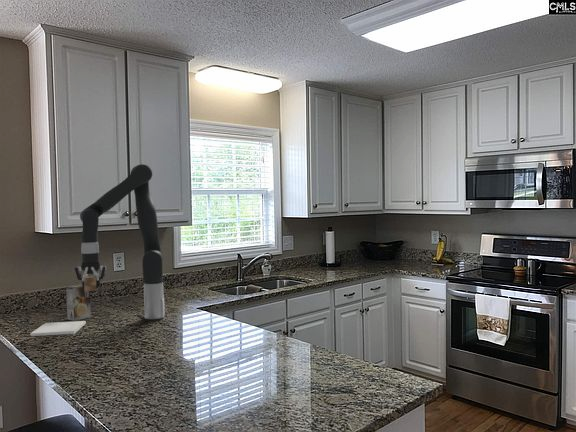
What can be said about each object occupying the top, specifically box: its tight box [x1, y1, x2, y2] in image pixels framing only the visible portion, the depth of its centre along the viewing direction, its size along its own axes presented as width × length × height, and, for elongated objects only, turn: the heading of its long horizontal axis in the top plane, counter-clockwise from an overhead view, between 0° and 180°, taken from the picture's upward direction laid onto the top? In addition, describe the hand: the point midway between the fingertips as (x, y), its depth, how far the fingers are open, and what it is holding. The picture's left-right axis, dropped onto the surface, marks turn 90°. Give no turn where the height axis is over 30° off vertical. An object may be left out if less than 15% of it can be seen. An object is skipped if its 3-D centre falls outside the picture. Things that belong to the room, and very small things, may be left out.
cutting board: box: [30, 320, 87, 337], centre depth 217 cm, size 18×18×1 cm
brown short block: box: [84, 275, 100, 292], centre depth 222 cm, size 5×5×6 cm
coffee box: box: [65, 284, 92, 322], centre depth 237 cm, size 9×6×16 cm
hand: (91, 288), depth 222 cm, fingers closed on brown short block, 5 cm apart
